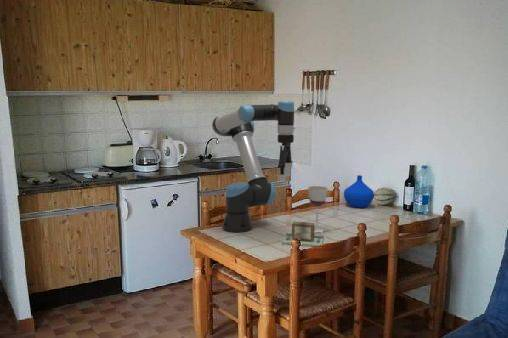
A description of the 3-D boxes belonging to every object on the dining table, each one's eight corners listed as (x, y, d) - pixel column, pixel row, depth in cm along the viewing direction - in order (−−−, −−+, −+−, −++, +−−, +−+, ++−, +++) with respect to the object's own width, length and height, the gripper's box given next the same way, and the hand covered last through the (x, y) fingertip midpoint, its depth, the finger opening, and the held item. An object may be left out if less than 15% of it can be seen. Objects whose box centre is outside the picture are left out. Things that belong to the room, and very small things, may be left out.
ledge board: (281, 244, 212) (282, 240, 212) (286, 236, 223) (286, 233, 223) (321, 247, 208) (321, 243, 207) (323, 239, 219) (323, 236, 218)
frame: (291, 240, 215) (292, 223, 213) (293, 237, 218) (293, 221, 217) (313, 242, 212) (313, 225, 211) (314, 239, 216) (314, 222, 215)
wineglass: (321, 234, 228) (323, 190, 224) (304, 230, 233) (305, 188, 229) (328, 229, 235) (330, 187, 231) (311, 226, 240) (312, 185, 236)
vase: (367, 211, 272) (369, 179, 269) (338, 207, 282) (339, 176, 279) (377, 205, 287) (379, 175, 284) (349, 201, 297) (351, 172, 294)
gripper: (288, 136, 202) (288, 184, 205) (297, 132, 226) (297, 174, 229) (272, 136, 204) (271, 183, 207) (282, 131, 228) (282, 173, 231)
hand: (285, 178), depth 218 cm, fingers open, 13 cm apart
